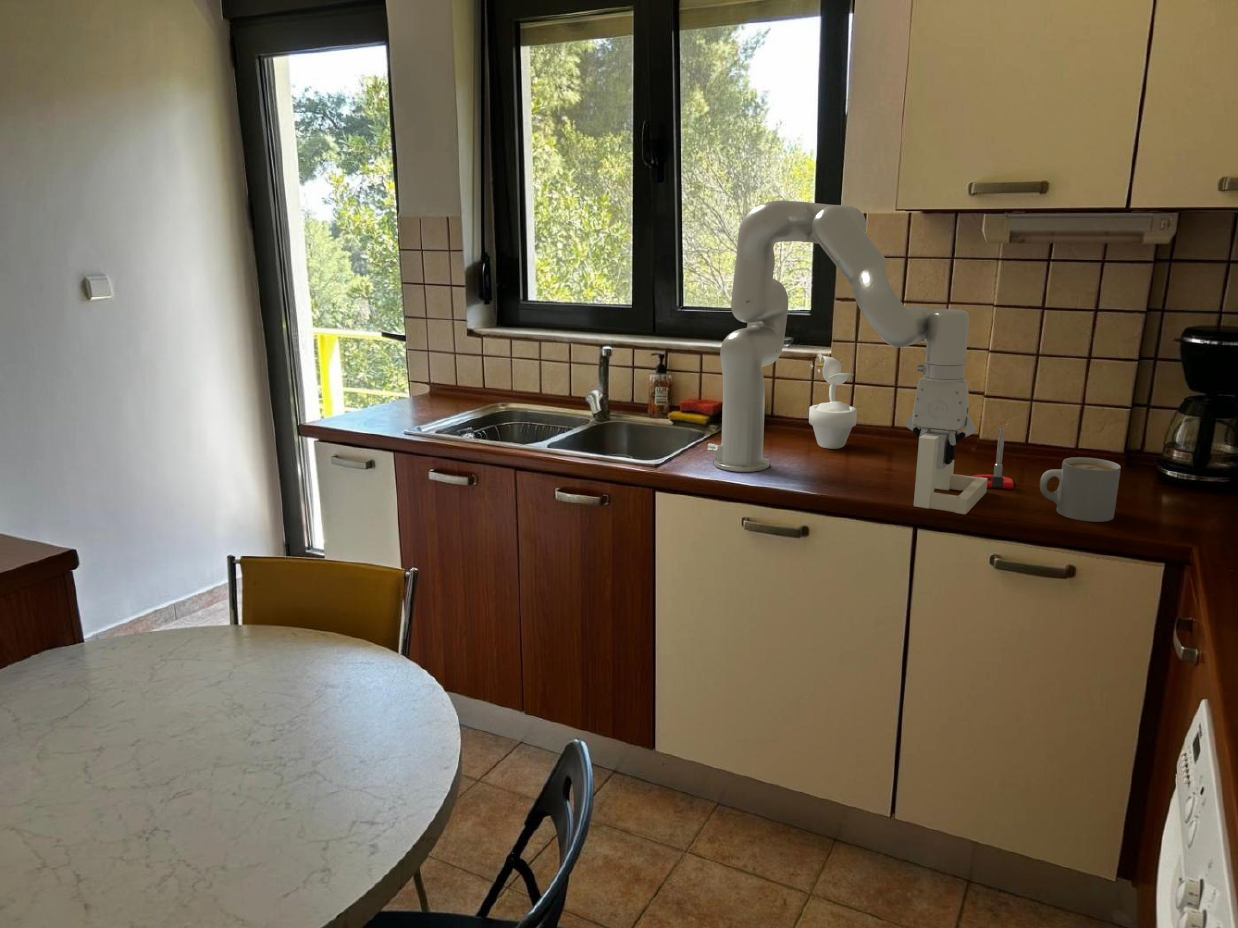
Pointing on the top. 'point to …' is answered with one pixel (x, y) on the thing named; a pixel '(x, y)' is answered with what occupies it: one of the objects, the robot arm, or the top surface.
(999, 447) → the grey red t-shaped piece
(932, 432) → the grey upright block
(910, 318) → the robot arm
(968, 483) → the white open frame stand
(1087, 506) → the coffee mug
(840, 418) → the potted plant
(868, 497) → the top surface
